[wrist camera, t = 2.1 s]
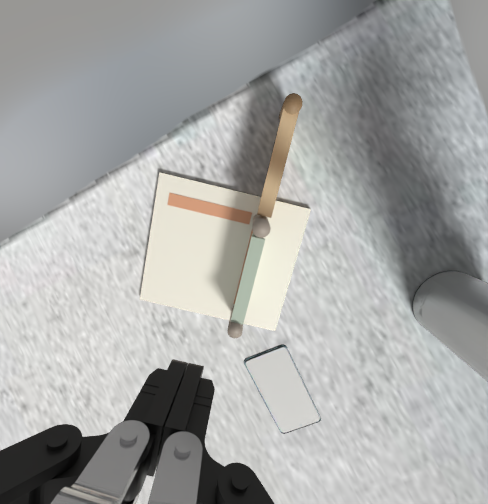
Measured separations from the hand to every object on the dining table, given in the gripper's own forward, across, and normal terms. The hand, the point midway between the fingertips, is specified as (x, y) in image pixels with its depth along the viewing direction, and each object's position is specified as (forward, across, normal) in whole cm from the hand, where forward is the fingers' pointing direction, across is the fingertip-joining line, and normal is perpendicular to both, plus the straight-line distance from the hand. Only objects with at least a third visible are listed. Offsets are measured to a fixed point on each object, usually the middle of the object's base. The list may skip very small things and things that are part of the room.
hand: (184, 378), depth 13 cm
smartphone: (+27, -13, +20) cm, 36 cm away
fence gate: (+25, -3, -12) cm, 28 cm away
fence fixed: (+26, -3, +2) cm, 26 cm away
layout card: (+26, +1, +1) cm, 26 cm away
